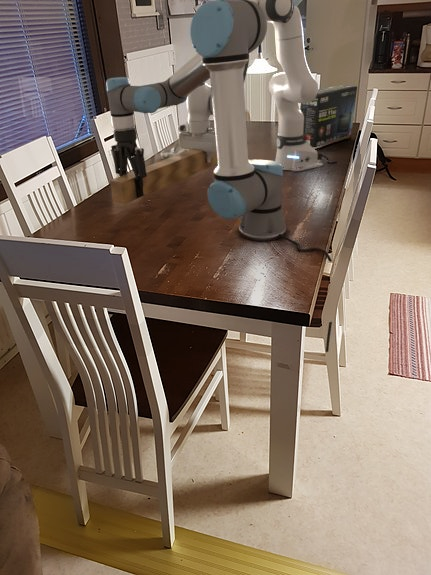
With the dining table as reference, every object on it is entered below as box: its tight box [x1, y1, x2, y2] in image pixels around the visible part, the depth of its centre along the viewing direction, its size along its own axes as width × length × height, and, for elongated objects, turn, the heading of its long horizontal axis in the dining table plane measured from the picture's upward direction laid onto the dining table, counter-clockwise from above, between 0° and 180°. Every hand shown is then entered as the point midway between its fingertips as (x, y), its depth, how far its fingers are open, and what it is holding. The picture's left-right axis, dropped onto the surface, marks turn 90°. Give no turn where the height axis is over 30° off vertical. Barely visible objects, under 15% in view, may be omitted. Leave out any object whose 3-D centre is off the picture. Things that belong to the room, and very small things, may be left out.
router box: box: [300, 84, 358, 147], centre depth 238 cm, size 36×11×27 cm, turn 134°
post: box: [109, 149, 218, 205], centre depth 177 cm, size 55×6×8 cm, turn 144°
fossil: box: [160, 142, 189, 160], centre depth 229 cm, size 18×11×15 cm
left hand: (134, 194), depth 165 cm, fingers closed on post, 6 cm apart
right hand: (201, 161), depth 191 cm, fingers closed on post, 5 cm apart
